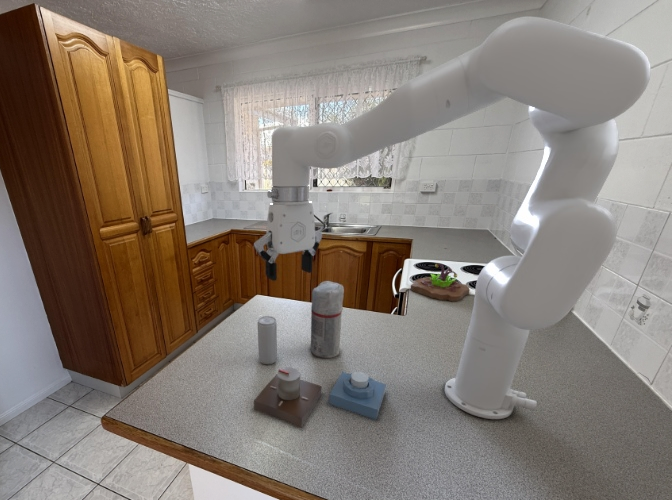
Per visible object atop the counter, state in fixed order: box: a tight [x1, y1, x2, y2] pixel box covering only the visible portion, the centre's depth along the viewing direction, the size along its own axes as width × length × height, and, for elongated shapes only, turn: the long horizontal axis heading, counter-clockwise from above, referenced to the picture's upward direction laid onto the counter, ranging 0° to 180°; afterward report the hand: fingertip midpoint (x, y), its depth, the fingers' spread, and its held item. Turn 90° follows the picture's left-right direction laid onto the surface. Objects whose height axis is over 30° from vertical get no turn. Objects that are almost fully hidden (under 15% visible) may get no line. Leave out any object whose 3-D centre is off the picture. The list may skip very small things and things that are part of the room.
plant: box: [410, 263, 471, 302], centre depth 124 cm, size 20×20×11 cm
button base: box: [328, 371, 387, 421], centre depth 68 cm, size 10×9×4 cm
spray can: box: [310, 280, 345, 359], centre depth 83 cm, size 8×8×20 cm
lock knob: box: [276, 366, 301, 400], centre depth 66 cm, size 5×5×5 cm
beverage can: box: [257, 315, 278, 365], centre depth 81 cm, size 5×5×12 cm
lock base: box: [253, 373, 323, 429], centre depth 68 cm, size 11×11×3 cm
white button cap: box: [350, 371, 369, 389], centre depth 67 cm, size 4×4×2 cm
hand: (289, 275), depth 70 cm, fingers open, 9 cm apart
